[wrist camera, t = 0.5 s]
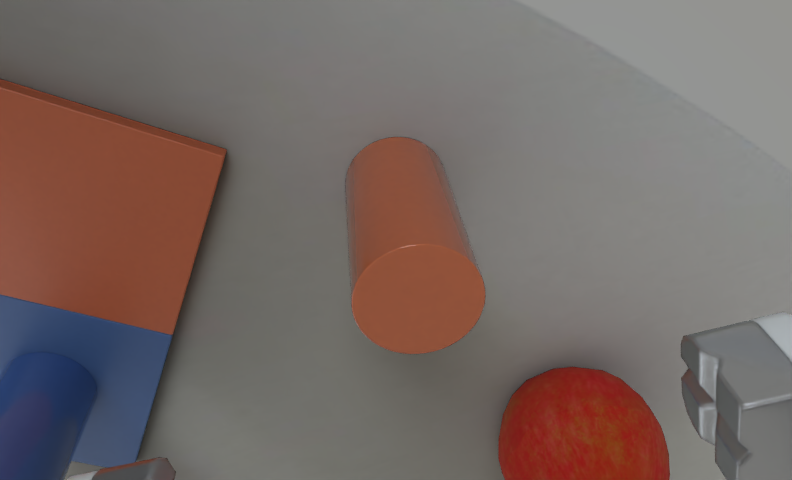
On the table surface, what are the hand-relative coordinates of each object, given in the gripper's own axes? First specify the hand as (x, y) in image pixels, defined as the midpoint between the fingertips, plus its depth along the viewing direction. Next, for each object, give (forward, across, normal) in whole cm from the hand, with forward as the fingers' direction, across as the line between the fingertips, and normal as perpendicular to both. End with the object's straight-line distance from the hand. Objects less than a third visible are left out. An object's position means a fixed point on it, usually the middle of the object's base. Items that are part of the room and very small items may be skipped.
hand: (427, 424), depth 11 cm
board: (+26, +22, +10) cm, 35 cm away
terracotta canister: (+26, 0, +8) cm, 27 cm away
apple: (+26, -7, +28) cm, 39 cm away
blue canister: (+25, +23, +16) cm, 38 cm away
